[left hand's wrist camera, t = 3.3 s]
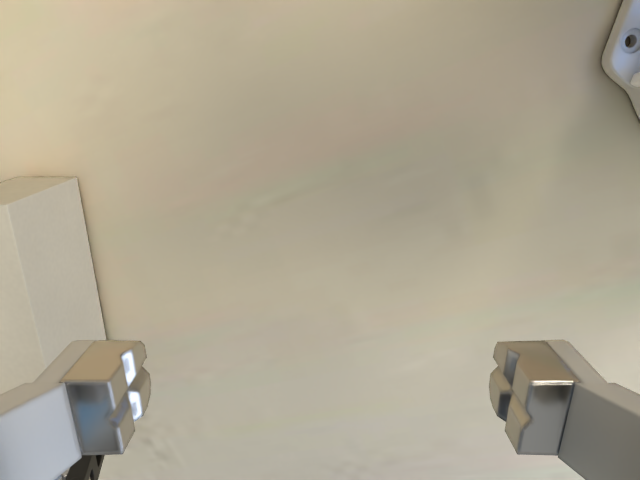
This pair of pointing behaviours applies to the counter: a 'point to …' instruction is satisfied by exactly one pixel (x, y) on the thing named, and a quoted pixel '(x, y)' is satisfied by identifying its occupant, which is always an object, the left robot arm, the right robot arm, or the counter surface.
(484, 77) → the counter surface
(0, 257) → the bar
